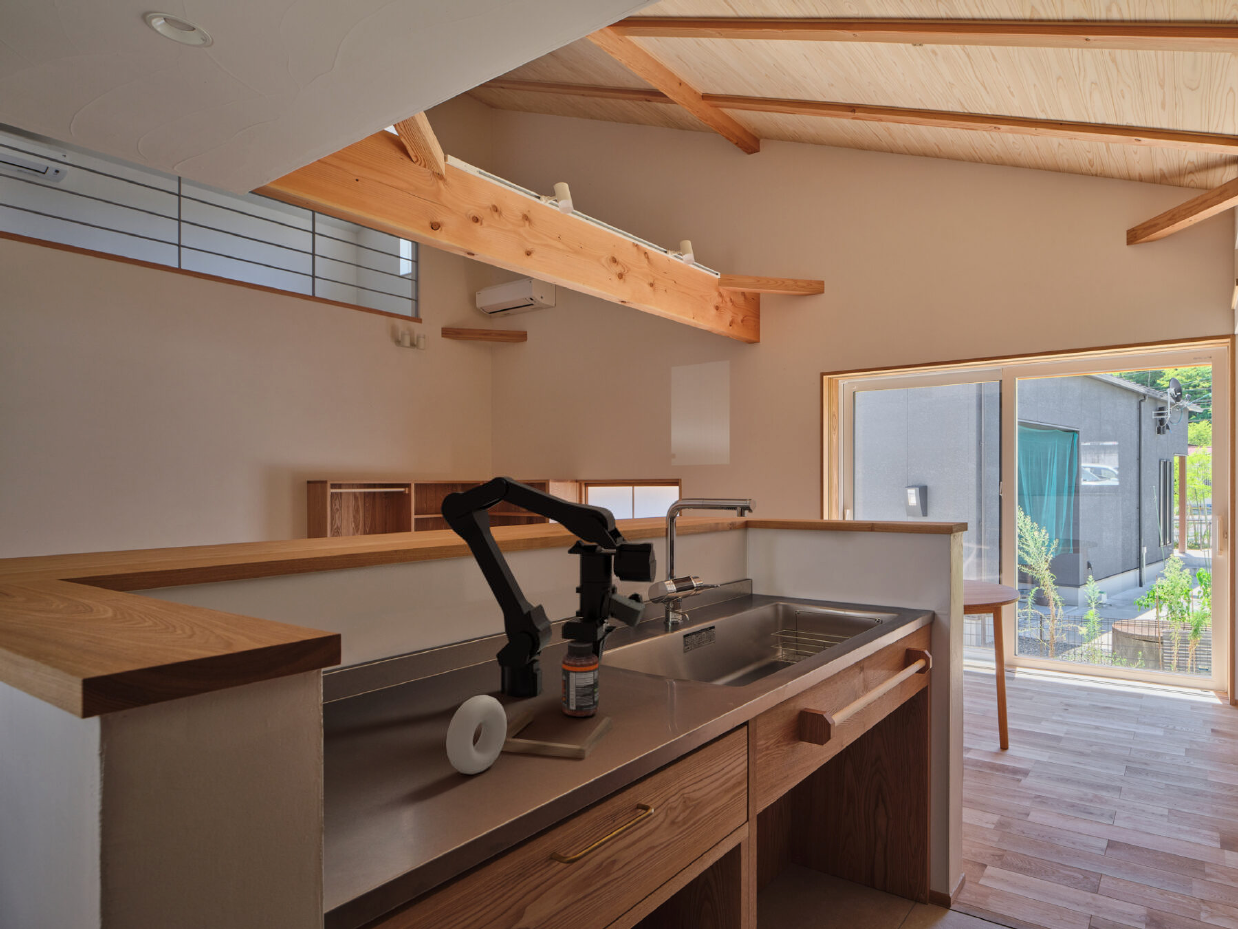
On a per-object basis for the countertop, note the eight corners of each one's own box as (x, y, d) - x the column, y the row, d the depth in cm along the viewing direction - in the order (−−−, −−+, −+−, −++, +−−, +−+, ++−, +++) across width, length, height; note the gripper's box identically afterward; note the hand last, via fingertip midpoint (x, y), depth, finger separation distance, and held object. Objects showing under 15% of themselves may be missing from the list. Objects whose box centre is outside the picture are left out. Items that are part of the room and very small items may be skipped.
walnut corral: (491, 749, 105) (491, 738, 105) (527, 718, 117) (527, 709, 117) (585, 760, 101) (585, 749, 101) (612, 727, 114) (612, 717, 114)
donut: (460, 789, 92) (460, 709, 92) (440, 783, 94) (440, 704, 94) (512, 761, 101) (512, 688, 101) (493, 756, 102) (493, 684, 102)
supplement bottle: (561, 706, 124) (561, 638, 123) (597, 705, 124) (597, 637, 124) (562, 718, 118) (562, 647, 117) (599, 717, 118) (599, 646, 118)
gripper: (626, 591, 118) (626, 689, 118) (653, 574, 136) (652, 659, 136) (560, 588, 121) (560, 683, 121) (595, 571, 139) (594, 654, 139)
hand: (595, 669), depth 129 cm, fingers closed
